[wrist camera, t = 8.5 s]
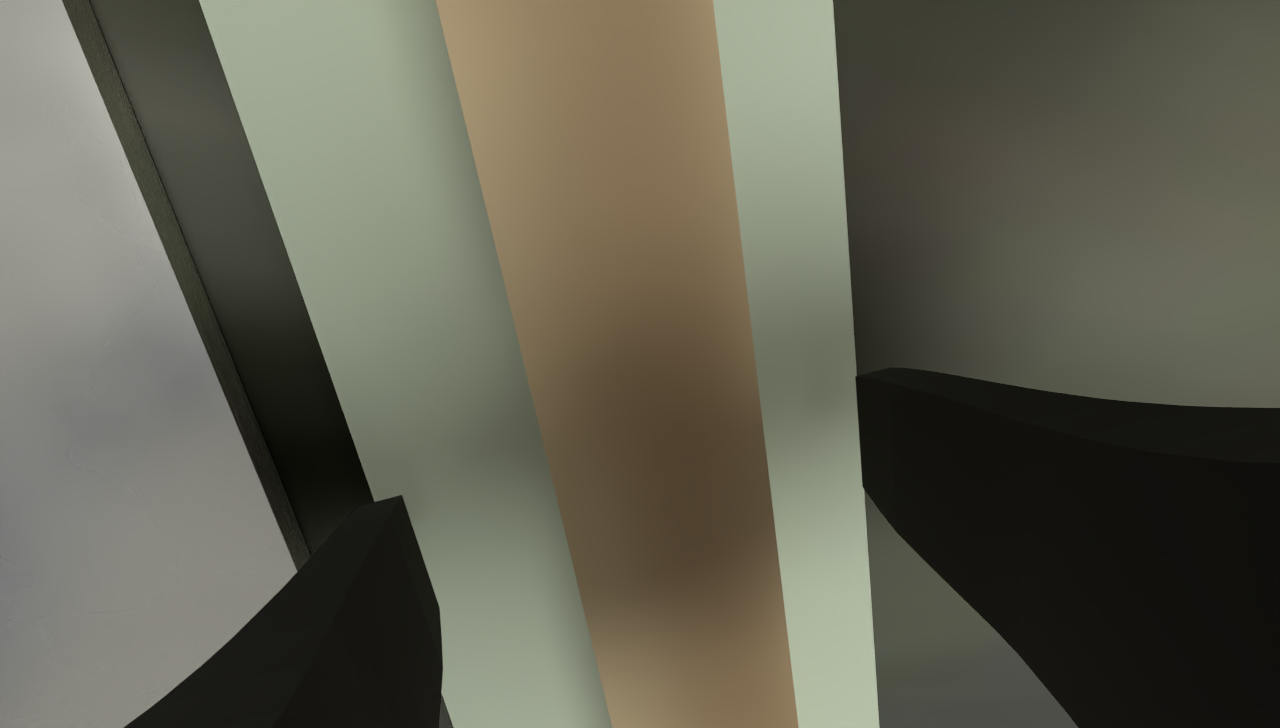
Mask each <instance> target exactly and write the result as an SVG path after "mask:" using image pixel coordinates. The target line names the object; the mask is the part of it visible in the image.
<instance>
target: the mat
mask: <svg viewBox="0 0 1280 728" xmlns="http://www.w3.org/2000/svg"><path fill="white" fill-rule="evenodd" d="M199 2H200V5H201V7H202V10H203V13H204V16H205V19H206V22H207V25H208V27H209V30H210V33H211V36H212V39H213V42H214V45H215V47H216V50H217V53H218V56H219V59H220V62H221V65H222V67H223V70H224V73H225V76H226V79H227V82H228V85H229V87H230V90H231V93H232V96H233V99H234V102H235V105H236V107H237V110H238V113H239V116H240V119H241V122H242V125H243V127H244V130H245V133H246V136H247V139H248V142H249V145H250V147H251V150H252V153H253V156H254V159H255V162H256V165H257V167H258V170H259V173H260V176H261V179H262V182H263V185H264V187H265V190H266V193H267V196H268V199H269V202H270V204H271V207H272V210H273V213H274V216H275V219H276V222H277V224H278V227H279V230H280V233H281V236H282V239H283V242H284V244H285V247H286V250H287V253H288V256H289V259H290V262H291V264H292V267H293V270H294V273H295V276H296V279H297V282H298V284H299V287H300V290H301V293H302V296H303V299H304V302H305V304H306V307H307V310H308V313H309V316H310V319H311V322H312V324H313V327H314V330H315V333H316V336H317V339H318V342H319V344H320V347H321V350H322V353H323V356H324V359H325V362H326V364H327V367H328V370H329V373H330V376H331V379H332V382H333V384H334V387H335V390H336V393H337V396H338V399H339V402H340V404H341V407H342V410H343V413H344V416H345V419H346V421H347V424H348V427H349V430H350V433H351V436H352V439H353V441H354V444H355V447H356V450H357V453H358V456H359V459H360V461H361V464H362V467H363V470H364V473H365V476H366V479H367V481H368V484H369V487H370V490H371V493H372V496H373V499H374V501H375V502H376V501H380V500H384V499H388V498H392V497H396V496H399V495H402V496H403V499H404V502H405V505H406V508H407V511H408V514H409V517H410V520H411V523H412V526H413V529H414V532H415V535H416V538H417V541H418V544H419V547H420V550H421V553H422V556H423V559H424V562H425V565H426V568H427V571H428V574H429V577H430V580H431V583H432V586H433V589H434V592H435V595H436V598H437V601H438V604H439V607H440V620H441V636H442V657H443V677H442V690H441V693H442V696H443V698H444V701H445V704H446V707H447V710H448V713H449V716H450V718H451V721H452V724H453V727H454V728H612V724H611V720H610V716H609V712H608V707H607V703H606V699H605V695H604V691H603V687H602V683H601V679H600V675H599V670H598V666H597V662H596V658H595V654H594V650H593V646H592V642H591V637H590V633H589V629H588V625H587V621H586V617H585V613H584V609H583V605H582V600H581V596H580V592H579V588H578V584H577V580H576V576H575V572H574V568H573V563H572V559H571V555H570V551H569V547H568V543H567V539H566V535H565V531H564V526H563V522H562V518H561V514H560V510H559V506H558V502H557V498H556V494H555V489H554V485H553V481H552V477H551V473H550V469H549V465H548V461H547V457H546V452H545V448H544V444H543V440H542V436H541V432H540V428H539V424H538V420H537V415H536V411H535V407H534V403H533V399H532V395H531V391H530V387H529V383H528V378H527V374H526V370H525V366H524V362H523V358H522V354H521V350H520V346H519V341H518V337H517V333H516V329H515V325H514V321H513V317H512V313H511V308H510V304H509V300H508V296H507V292H506V288H505V284H504V280H503V276H502V271H501V267H500V263H499V259H498V255H497V251H496V247H495V243H494V239H493V234H492V230H491V226H490V222H489V218H488V214H487V210H486V206H485V202H484V197H483V193H482V189H481V185H480V181H479V177H478V173H477V169H476V165H475V160H474V156H473V152H472V148H471V144H470V140H469V136H468V132H467V128H466V123H465V119H464V115H463V111H462V107H461V103H460V99H459V95H458V91H457V86H456V82H455V78H454V74H453V70H452V66H451V62H450V58H449V54H448V49H447V45H446V41H445V37H444V33H443V29H442V25H441V21H440V17H439V12H438V8H437V4H436V0H199ZM713 6H714V14H715V23H716V31H717V40H718V48H719V57H720V65H721V74H722V82H723V91H724V99H725V108H726V116H727V125H728V133H729V142H730V150H731V159H732V167H733V175H734V184H735V192H736V201H737V209H738V218H739V226H740V235H741V243H742V252H743V260H744V269H745V277H746V286H747V294H748V303H749V311H750V320H751V328H752V336H753V345H754V353H755V362H756V370H757V379H758V387H759V396H760V404H761V413H762V421H763V430H764V438H765V447H766V455H767V464H768V472H769V481H770V489H771V497H772V506H773V514H774V523H775V531H776V540H777V548H778V557H779V565H780V574H781V582H782V591H783V599H784V608H785V616H786V625H787V633H788V642H789V650H790V659H791V667H792V675H793V684H794V692H795V701H796V709H797V718H798V726H799V728H879V714H878V699H877V683H876V668H875V652H874V636H873V621H872V605H871V590H870V574H869V558H868V543H867V527H866V512H865V496H864V488H863V487H862V471H861V456H860V441H859V426H858V410H857V395H856V380H855V377H856V376H857V371H856V356H855V340H854V324H853V309H852V293H851V278H850V262H849V246H848V231H847V215H846V200H845V184H844V168H843V153H842V137H841V122H840V106H839V90H838V75H837V59H836V44H835V28H834V12H833V0H713Z"/></svg>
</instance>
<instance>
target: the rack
mask: <svg viewBox="0 0 1280 728" xmlns="http://www.w3.org/2000/svg"><path fill="white" fill-rule="evenodd" d="M310 558H311V555H310V552H309V550H308V547H307V545H306V542H305V540H304V537H303V535H302V532H301V530H300V527H299V525H298V522H297V520H296V517H295V515H294V512H293V510H292V507H291V505H290V502H289V500H288V497H287V495H286V492H285V490H284V487H283V485H282V482H281V480H280V477H279V475H278V472H277V470H276V467H275V465H274V462H273V460H272V457H271V455H270V452H269V450H268V447H267V445H266V442H265V440H264V437H263V435H262V432H261V430H260V427H259V425H258V422H257V420H256V417H255V415H254V412H253V410H252V407H251V405H250V402H249V400H248V397H247V395H246V392H245V390H244V387H243V385H242V382H241V380H240V377H239V375H238V372H237V370H236V367H235V365H234V362H233V360H232V357H231V355H230V352H229V350H228V347H227V345H226V342H225V340H224V337H223V335H222V332H221V330H220V327H219V325H218V322H217V320H216V317H215V315H214V312H213V310H212V307H211V305H210V302H209V300H208V297H207V295H206V292H205V290H204V287H203V285H202V282H201V280H200V277H199V275H198V272H197V270H196V267H195V265H194V262H193V260H192V257H191V255H190V252H189V250H188V247H187V245H186V242H185V240H184V237H183V235H182V232H181V230H180V227H179V225H178V222H177V220H176V217H175V215H174V212H173V210H172V207H171V205H170V202H169V200H168V197H167V195H166V192H165V190H164V187H163V185H162V182H161V180H160V177H159V175H158V172H157V170H156V167H155V165H154V162H153V160H152V157H151V155H150V152H149V150H148V147H147V145H146V143H145V140H144V137H143V135H142V133H141V130H140V128H139V125H138V123H137V120H136V118H135V115H134V113H133V110H132V108H131V105H130V103H129V100H128V98H127V95H126V93H125V90H124V88H123V85H122V83H121V80H120V78H119V75H118V73H117V70H116V68H115V65H114V63H113V60H112V58H111V55H110V53H109V50H108V48H107V45H106V43H105V40H104V38H103V35H102V33H101V30H100V28H99V25H98V23H97V20H96V18H95V15H94V13H93V10H92V8H91V5H90V3H89V0H0V728H123V727H125V726H126V725H127V724H129V723H130V722H131V721H133V720H134V719H136V718H137V717H138V716H140V715H141V714H142V713H144V712H145V711H146V710H148V709H149V708H150V707H152V706H153V705H154V704H155V703H157V702H158V701H159V700H161V699H162V698H163V697H164V696H166V695H167V694H168V693H169V692H170V691H172V690H173V689H174V688H175V687H176V686H178V685H179V684H180V683H181V682H182V681H184V680H185V679H186V678H187V677H188V676H190V675H191V674H192V673H193V672H194V671H195V670H197V669H198V668H199V667H200V666H201V665H203V664H204V663H205V662H206V661H207V660H208V659H209V658H210V657H212V656H213V655H214V654H215V653H216V652H217V651H218V650H220V649H221V648H222V647H223V646H224V645H225V644H226V643H227V642H228V641H229V640H230V639H231V638H233V637H234V636H235V635H236V634H237V633H238V632H239V631H240V630H241V629H242V628H243V627H244V626H245V625H246V624H247V623H248V622H249V621H250V620H251V619H252V618H253V617H254V616H255V615H256V614H257V613H258V612H259V611H260V610H261V609H262V608H263V607H264V606H265V605H266V604H267V603H268V602H269V601H270V600H271V599H272V598H273V597H274V596H275V595H276V594H277V593H278V592H279V591H280V590H281V589H282V588H283V587H284V586H285V585H286V584H287V583H288V582H289V580H290V579H291V578H292V577H293V576H294V575H295V574H296V573H297V572H298V571H299V570H300V568H301V567H302V566H303V565H304V564H305V563H306V562H307V561H308V560H309V559H310Z"/></svg>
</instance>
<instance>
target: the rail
mask: <svg viewBox="0 0 1280 728" xmlns="http://www.w3.org/2000/svg"><path fill="white" fill-rule="evenodd" d="M436 4H437V8H438V12H439V17H440V21H441V25H442V29H443V33H444V37H445V41H446V45H447V49H448V54H449V58H450V62H451V66H452V70H453V74H454V78H455V82H456V86H457V91H458V95H459V99H460V103H461V107H462V111H463V115H464V119H465V123H466V128H467V132H468V136H469V140H470V144H471V148H472V152H473V156H474V160H475V165H476V169H477V173H478V177H479V181H480V185H481V189H482V193H483V197H484V202H485V206H486V210H487V214H488V218H489V222H490V226H491V230H492V234H493V239H494V243H495V247H496V251H497V255H498V259H499V263H500V267H501V271H502V276H503V280H504V284H505V288H506V292H507V296H508V300H509V304H510V308H511V313H512V317H513V321H514V325H515V329H516V333H517V337H518V341H519V346H520V350H521V354H522V358H523V362H524V366H525V370H526V374H527V378H528V383H529V387H530V391H531V395H532V399H533V403H534V407H535V411H536V415H537V420H538V424H539V428H540V432H541V436H542V440H543V444H544V448H545V452H546V457H547V461H548V465H549V469H550V473H551V477H552V481H553V485H554V489H555V494H556V498H557V502H558V506H559V510H560V514H561V518H562V522H563V526H564V531H565V535H566V539H567V543H568V547H569V551H570V555H571V559H572V563H573V568H574V572H575V576H576V580H577V584H578V588H579V592H580V596H581V600H582V605H583V609H584V613H585V617H586V621H587V625H588V629H589V633H590V637H591V642H592V646H593V650H594V654H595V658H596V662H597V666H598V670H599V675H600V679H601V683H602V687H603V691H604V695H605V699H606V703H607V707H608V712H609V716H610V720H611V724H612V728H799V726H798V718H797V709H796V701H795V692H794V684H793V675H792V667H791V659H790V650H789V642H788V633H787V625H786V616H785V608H784V599H783V591H782V582H781V574H780V565H779V557H778V548H777V540H776V531H775V523H774V514H773V506H772V497H771V489H770V481H769V472H768V464H767V455H766V447H765V438H764V430H763V421H762V413H761V404H760V396H759V387H758V379H757V370H756V362H755V353H754V345H753V336H752V328H751V320H750V311H749V303H748V294H747V286H746V277H745V269H744V260H743V252H742V243H741V235H740V226H739V218H738V209H737V201H736V192H735V184H734V175H733V167H732V159H731V150H730V142H729V133H728V125H727V116H726V108H725V99H724V91H723V82H722V74H721V65H720V57H719V48H718V40H717V31H716V23H715V14H714V6H713V0H436Z"/></svg>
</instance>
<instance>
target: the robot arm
mask: <svg viewBox="0 0 1280 728" xmlns="http://www.w3.org/2000/svg"><path fill="white" fill-rule="evenodd" d="M855 380H856V395H857V410H858V426H859V441H860V456H861V471H862V487H863V488H864V489H865V491H866V492H867V494H868V495H869V496H870V498H871V499H872V500H873V502H874V503H875V505H876V506H877V507H878V509H879V510H880V512H881V513H882V514H883V515H884V517H885V518H886V519H887V521H888V522H889V523H890V524H891V526H892V527H893V528H894V529H895V531H896V532H897V533H898V534H899V535H900V536H901V537H902V538H903V539H904V540H905V541H906V542H907V543H908V544H909V545H910V546H911V547H912V548H913V549H914V550H915V551H916V552H917V553H918V554H919V555H920V556H921V557H922V558H923V559H924V560H925V561H926V562H927V563H928V564H929V565H930V566H931V567H932V568H933V569H934V570H935V571H936V572H937V573H938V574H939V575H940V576H941V577H942V578H943V579H944V580H945V581H946V582H947V583H948V584H949V585H950V586H951V587H952V588H953V589H954V590H955V591H956V592H957V593H958V594H959V595H960V596H961V597H962V598H963V599H964V600H965V601H966V602H967V603H968V604H969V605H970V606H971V607H973V608H974V609H975V610H976V611H977V612H978V613H979V614H980V615H981V616H982V617H983V618H984V619H985V620H986V621H987V622H988V623H989V624H990V625H991V626H992V627H993V628H994V629H995V630H996V631H997V632H998V633H999V634H1000V635H1001V636H1002V637H1003V638H1004V639H1005V641H1006V642H1007V643H1008V644H1009V645H1010V646H1011V647H1012V648H1013V649H1014V650H1015V651H1016V652H1017V653H1018V654H1019V656H1020V657H1021V658H1022V659H1023V660H1024V661H1025V663H1026V664H1027V665H1028V666H1029V667H1030V669H1031V670H1032V671H1033V672H1034V673H1035V675H1036V676H1037V677H1038V678H1039V680H1040V681H1041V682H1042V683H1043V684H1044V686H1045V687H1046V688H1047V689H1048V690H1049V692H1050V693H1051V694H1052V695H1053V696H1054V698H1055V699H1056V700H1057V701H1058V702H1059V704H1060V705H1061V706H1062V707H1063V708H1064V710H1065V711H1066V712H1067V713H1068V715H1069V716H1070V717H1071V718H1072V720H1073V721H1074V722H1075V724H1076V725H1077V726H1078V727H1079V728H1280V408H1232V407H1199V406H1179V405H1166V404H1153V403H1140V402H1127V401H1117V400H1108V399H1099V398H1091V397H1084V396H1077V395H1070V394H1062V393H1055V392H1048V391H1042V390H1036V389H1030V388H1023V387H1018V386H1012V385H1006V384H1000V383H995V382H989V381H984V380H978V379H973V378H967V377H961V376H956V375H950V374H944V373H938V372H932V371H925V370H917V369H908V368H886V369H883V370H879V371H875V372H871V373H867V374H863V375H860V376H856V377H855ZM442 677H443V657H442V636H441V620H440V607H439V604H438V601H437V598H436V595H435V592H434V589H433V586H432V583H431V580H430V577H429V574H428V571H427V568H426V565H425V562H424V559H423V556H422V553H421V550H420V547H419V544H418V541H417V538H416V535H415V532H414V529H413V526H412V523H411V520H410V517H409V514H408V511H407V508H406V505H405V502H404V499H403V496H402V495H399V496H396V497H392V498H388V499H384V500H380V501H376V502H373V503H369V504H365V505H361V506H359V507H358V508H356V509H355V510H354V511H353V512H352V513H351V514H350V515H349V516H348V517H347V518H346V519H345V520H344V521H343V522H342V523H341V524H340V526H339V527H338V528H337V529H336V530H335V531H334V532H333V533H332V534H331V535H330V537H329V538H328V539H327V540H326V541H325V542H324V543H323V544H322V545H321V547H320V548H319V549H318V550H317V551H316V552H315V553H314V554H313V555H312V556H311V558H310V559H309V560H308V561H307V562H306V563H305V564H304V565H303V566H302V567H301V568H300V570H299V571H298V572H297V573H296V574H295V575H294V576H293V577H292V578H291V579H290V580H289V582H288V583H287V584H286V585H285V586H284V587H283V588H282V589H281V590H280V591H279V592H278V593H277V594H276V595H275V596H274V597H273V598H272V599H271V600H270V601H269V602H268V603H267V604H266V605H265V606H264V607H263V608H262V609H261V610H260V611H259V612H258V613H257V614H256V615H255V616H254V617H253V618H252V619H251V620H250V621H249V622H248V623H247V624H246V625H245V626H244V627H243V628H242V629H241V630H240V631H239V632H238V633H237V634H236V635H235V636H234V637H233V638H231V639H230V640H229V641H228V642H227V643H226V644H225V645H224V646H223V647H222V648H221V649H220V650H218V651H217V652H216V653H215V654H214V655H213V656H212V657H210V658H209V659H208V660H207V661H206V662H205V663H204V664H203V665H201V666H200V667H199V668H198V669H197V670H195V671H194V672H193V673H192V674H191V675H190V676H188V677H187V678H186V679H185V680H184V681H182V682H181V683H180V684H179V685H178V686H176V687H175V688H174V689H173V690H172V691H170V692H169V693H168V694H167V695H166V696H164V697H163V698H162V699H161V700H159V701H158V702H157V703H155V704H154V705H153V706H152V707H150V708H149V709H148V710H146V711H145V712H144V713H142V714H141V715H140V716H138V717H137V718H136V719H134V720H133V721H131V722H130V723H129V724H127V725H126V726H125V727H123V728H438V727H439V715H440V703H441V690H442Z"/></svg>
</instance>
